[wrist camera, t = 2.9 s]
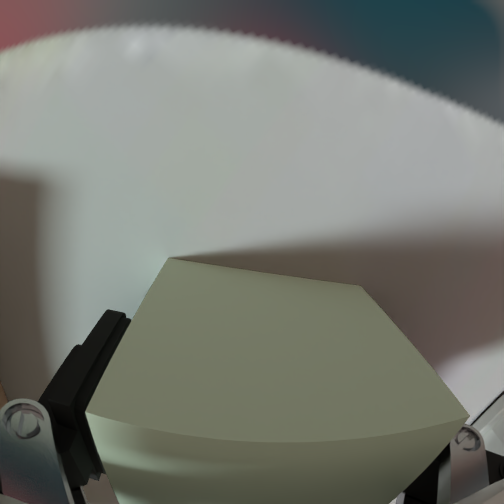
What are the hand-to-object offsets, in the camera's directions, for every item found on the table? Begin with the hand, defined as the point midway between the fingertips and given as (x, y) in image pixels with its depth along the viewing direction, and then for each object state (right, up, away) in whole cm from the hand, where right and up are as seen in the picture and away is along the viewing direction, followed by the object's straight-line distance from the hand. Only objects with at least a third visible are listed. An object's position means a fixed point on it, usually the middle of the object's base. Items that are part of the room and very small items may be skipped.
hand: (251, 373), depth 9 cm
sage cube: (0, 0, +1) cm, 1 cm away
